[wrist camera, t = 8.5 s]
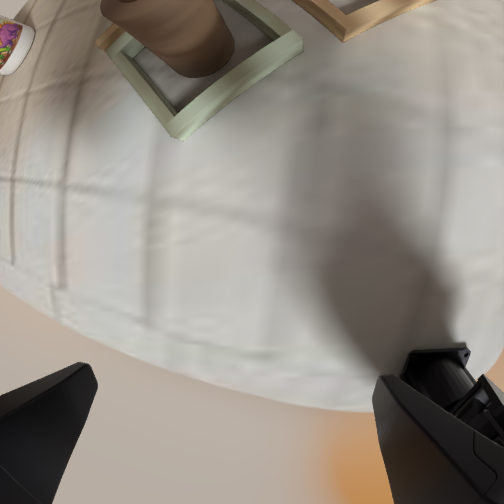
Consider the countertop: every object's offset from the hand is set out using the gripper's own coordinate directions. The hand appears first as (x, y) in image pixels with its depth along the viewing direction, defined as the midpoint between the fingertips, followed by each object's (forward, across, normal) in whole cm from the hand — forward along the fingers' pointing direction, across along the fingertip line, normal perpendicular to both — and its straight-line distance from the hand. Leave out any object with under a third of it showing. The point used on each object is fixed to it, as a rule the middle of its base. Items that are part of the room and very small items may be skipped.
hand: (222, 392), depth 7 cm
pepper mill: (+14, +3, -16) cm, 22 cm away
